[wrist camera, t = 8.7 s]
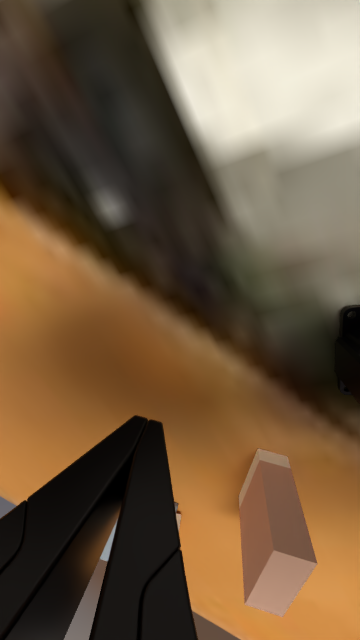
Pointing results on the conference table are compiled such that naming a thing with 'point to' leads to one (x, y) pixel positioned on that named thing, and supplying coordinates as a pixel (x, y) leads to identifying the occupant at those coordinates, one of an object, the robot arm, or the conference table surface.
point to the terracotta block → (273, 535)
